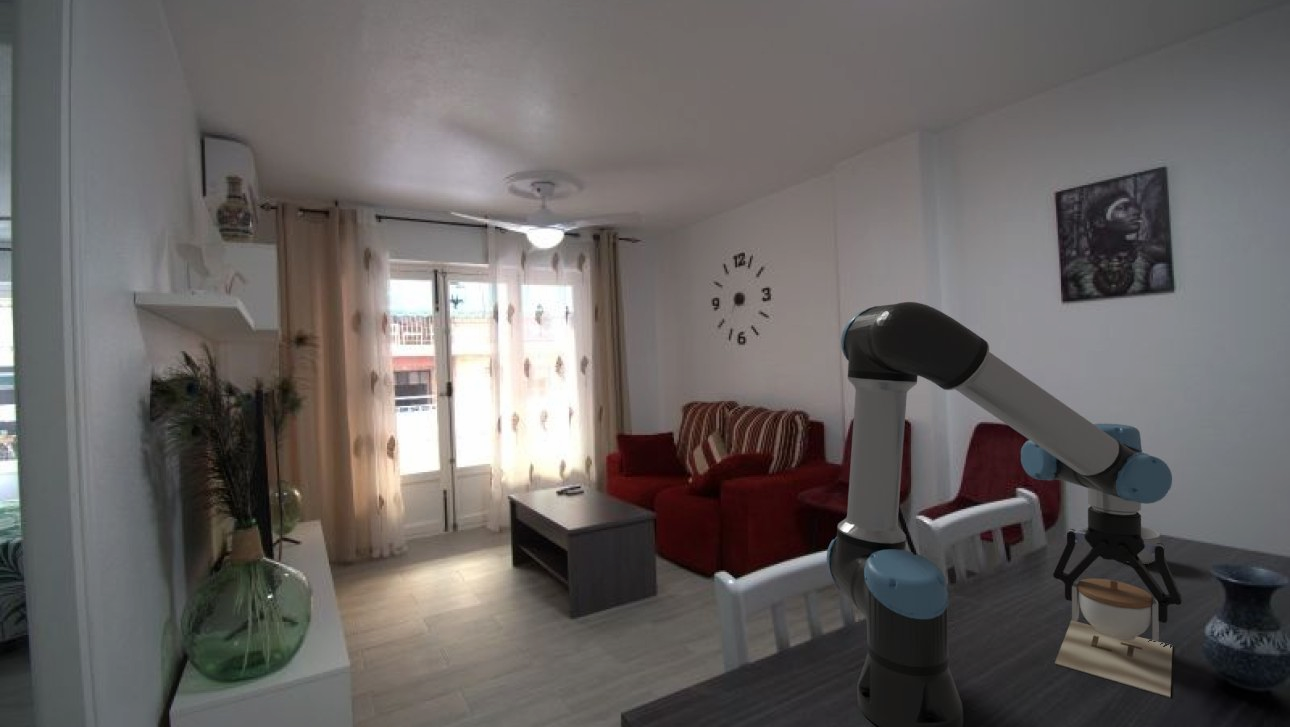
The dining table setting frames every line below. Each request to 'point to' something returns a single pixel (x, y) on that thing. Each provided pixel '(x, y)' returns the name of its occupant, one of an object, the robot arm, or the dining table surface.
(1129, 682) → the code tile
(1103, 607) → the lidded jar
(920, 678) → the robot arm
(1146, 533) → the teacup
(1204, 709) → the dining table surface
